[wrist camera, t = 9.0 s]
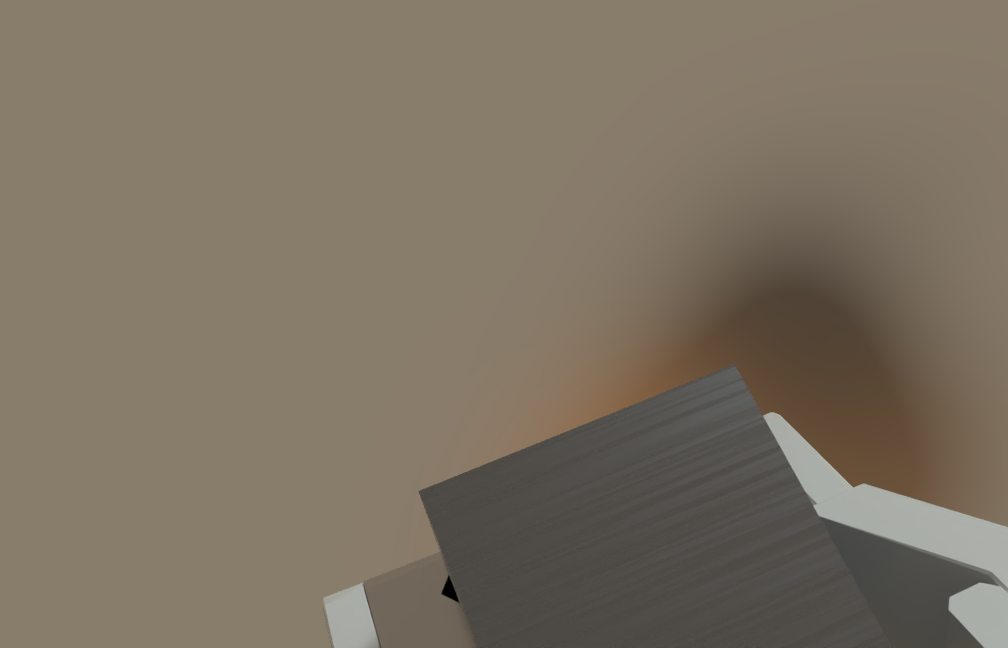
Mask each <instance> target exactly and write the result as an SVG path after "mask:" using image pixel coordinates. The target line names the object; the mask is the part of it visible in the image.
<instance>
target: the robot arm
mask: <svg viewBox="0 0 1008 648" xmlns="http://www.w3.org/2000/svg"><path fill="white" fill-rule="evenodd" d="M763 417H764V419H765V420H766V422H767V424H768V426H769V428H770V429H771V431H772V433H773V435H774V437H775V438H776V440H777V442H778V444H779V446H780V447H781V449H782V451H783V453H784V454H785V456H786V458H787V460H788V462H789V463H790V465H791V467H792V469H793V471H794V472H795V474H796V476H797V478H798V480H799V481H800V483H801V485H802V487H803V489H804V490H805V492H806V494H807V496H808V497H809V499H810V501H811V503H812V505H813V506H814V508H815V510H816V512H817V514H818V515H819V517H820V519H821V521H822V523H823V524H824V526H825V528H826V530H827V532H828V533H829V535H830V537H831V539H832V540H833V542H834V544H835V546H836V548H837V549H838V551H839V553H840V555H841V557H842V558H843V560H844V562H845V564H846V566H847V567H848V569H849V571H850V573H851V575H852V576H853V578H854V580H855V582H856V584H857V585H858V587H859V589H860V591H861V592H862V594H863V596H864V598H865V600H866V601H867V603H868V605H869V607H870V609H871V610H872V612H873V614H874V616H875V618H876V619H877V621H878V623H879V625H880V627H881V628H882V630H883V632H884V634H885V635H886V637H887V639H888V641H889V643H890V644H891V646H892V648H1008V527H1005V526H1002V525H998V524H995V523H992V522H988V521H985V520H982V519H978V518H975V517H972V516H969V515H965V514H962V513H959V512H955V511H952V510H949V509H946V508H942V507H939V506H936V505H932V504H929V503H926V502H922V501H919V500H916V499H913V498H909V497H906V496H902V495H899V494H896V493H893V492H889V491H886V490H883V489H880V488H876V487H873V486H869V485H866V484H862V485H859V486H857V487H854V488H853V487H852V486H851V485H850V484H849V483H848V482H847V481H846V480H845V479H844V478H843V477H842V476H841V475H840V474H839V473H838V472H837V471H836V470H835V469H834V468H833V467H832V466H831V465H830V464H829V463H828V462H827V461H826V460H825V459H824V458H823V457H822V456H821V455H819V453H818V452H817V451H816V450H815V449H814V448H813V447H812V446H811V445H810V444H809V443H807V441H805V439H804V438H802V437H801V435H800V434H798V433H797V432H796V431H795V430H794V429H793V428H792V427H791V426H790V425H789V424H788V423H787V422H786V421H785V420H784V419H783V418H782V417H781V416H780V415H779V414H776V413H773V412H771V413H769V414H766V415H764V416H763ZM323 611H324V616H325V620H326V625H327V629H328V634H329V638H330V643H331V647H332V648H477V647H476V644H475V642H474V639H473V636H472V634H471V631H470V629H469V626H468V623H467V621H466V618H465V616H464V613H463V610H462V608H461V605H460V603H459V601H458V598H457V595H456V593H455V590H454V587H453V585H452V582H451V579H450V577H449V574H448V572H447V569H446V566H445V564H444V561H443V558H442V555H441V553H440V552H438V553H436V554H433V555H431V556H428V557H426V558H423V559H421V560H418V561H415V562H413V563H410V564H407V565H405V566H402V567H400V568H397V569H394V570H392V571H389V572H387V573H384V574H382V575H379V576H376V577H374V578H371V579H369V580H366V581H364V583H361V584H358V585H356V586H353V587H350V588H348V589H345V590H343V591H340V592H337V593H335V594H332V595H330V596H327V597H325V598H324V599H323Z"/></svg>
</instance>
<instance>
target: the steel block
mask: <svg viewBox="0 0 1008 648" xmlns="http://www.w3.org/2000/svg"><path fill="white" fill-rule="evenodd" d="M419 494H420V496H421V499H422V502H423V505H424V508H425V510H426V513H427V516H428V519H429V522H430V524H431V527H432V530H433V533H434V536H435V538H436V541H437V544H438V547H439V550H440V553H441V555H442V558H443V561H444V564H445V566H446V569H447V572H448V574H449V577H450V579H451V582H452V585H453V587H454V590H455V593H456V595H457V598H458V601H459V603H460V605H461V608H462V610H463V613H464V616H465V618H466V621H467V623H468V626H469V629H470V631H471V634H472V636H473V639H474V642H475V644H476V647H477V648H892V646H891V644H890V643H889V641H888V639H887V637H886V635H885V634H884V632H883V630H882V628H881V627H880V625H879V623H878V621H877V619H876V618H875V616H874V614H873V612H872V610H871V609H870V607H869V605H868V603H867V601H866V600H865V598H864V596H863V594H862V592H861V591H860V589H859V587H858V585H857V584H856V582H855V580H854V578H853V576H852V575H851V573H850V571H849V569H848V567H847V566H846V564H845V562H844V560H843V558H842V557H841V555H840V553H839V551H838V549H837V548H836V546H835V544H834V542H833V540H832V539H831V537H830V535H829V533H828V532H827V530H826V528H825V526H824V524H823V523H822V521H821V519H820V517H819V515H818V514H817V512H816V510H815V508H814V506H813V505H812V503H811V501H810V499H809V497H808V496H807V494H806V492H805V490H804V489H803V487H802V485H801V483H800V481H799V480H798V478H797V476H796V474H795V472H794V471H793V469H792V467H791V465H790V463H789V462H788V460H787V458H786V456H785V454H784V453H783V451H782V449H781V447H780V446H779V444H778V442H777V440H776V438H775V437H774V435H773V433H772V431H771V429H770V428H769V426H768V424H767V422H766V420H765V419H764V417H763V415H762V413H761V411H760V410H759V408H758V406H757V404H756V403H755V401H754V399H753V397H752V395H751V394H750V392H749V390H748V388H747V386H746V385H745V383H744V381H743V379H742V377H741V376H740V374H739V372H738V370H737V368H736V367H735V365H734V364H733V365H731V366H729V367H726V368H724V369H721V370H719V371H716V372H714V373H711V374H709V375H706V376H704V377H701V378H699V379H696V380H694V381H691V382H689V383H686V384H684V385H681V386H679V387H676V388H674V389H672V390H669V391H666V392H664V393H661V394H659V395H656V396H654V397H651V398H649V399H647V400H644V401H642V402H639V403H637V404H634V405H632V406H629V407H627V408H624V409H622V410H619V411H617V412H614V413H612V414H609V415H607V416H604V417H602V418H600V419H597V420H595V421H592V422H589V423H587V424H584V425H582V426H579V427H577V428H575V429H572V430H570V431H567V432H565V433H562V434H560V435H557V436H555V437H552V438H550V439H547V440H545V441H542V442H540V443H537V444H535V445H532V446H530V447H527V448H525V449H522V450H520V451H517V452H515V453H512V454H510V455H507V456H505V457H502V458H500V459H497V460H495V461H493V462H490V463H488V464H485V465H483V466H480V467H478V468H475V469H473V470H470V471H468V472H465V473H463V474H460V475H458V476H455V477H453V478H450V479H448V480H445V481H443V482H440V483H438V484H435V485H433V486H430V487H428V488H426V489H423V490H420V491H419Z"/></svg>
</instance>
